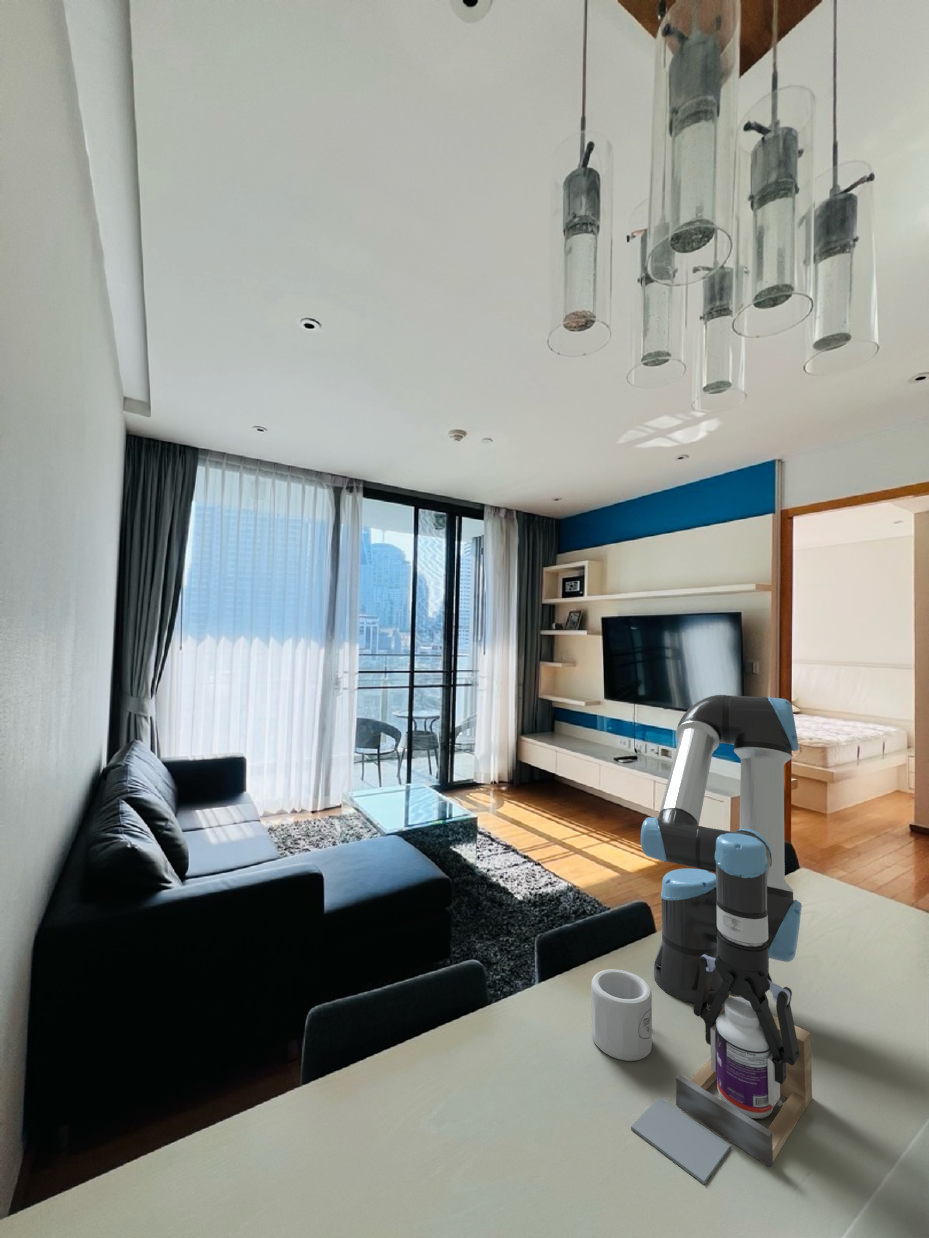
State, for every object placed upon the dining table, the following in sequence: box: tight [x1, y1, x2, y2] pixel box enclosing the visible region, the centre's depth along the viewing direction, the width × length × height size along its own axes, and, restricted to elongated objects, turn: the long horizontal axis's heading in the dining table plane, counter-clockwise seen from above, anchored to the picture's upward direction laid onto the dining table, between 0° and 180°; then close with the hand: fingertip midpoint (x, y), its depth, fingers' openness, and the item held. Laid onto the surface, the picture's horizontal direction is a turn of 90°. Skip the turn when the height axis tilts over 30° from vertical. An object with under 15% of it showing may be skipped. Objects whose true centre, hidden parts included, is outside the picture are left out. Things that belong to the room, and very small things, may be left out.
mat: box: [630, 1096, 732, 1185], centre depth 78 cm, size 11×8×1 cm
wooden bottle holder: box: [675, 994, 813, 1168], centre depth 86 cm, size 14×18×10 cm
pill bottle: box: [716, 996, 774, 1119], centre depth 86 cm, size 8×8×14 cm
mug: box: [590, 968, 653, 1062], centre depth 100 cm, size 14×11×10 cm
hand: (744, 1082), depth 85 cm, fingers closed on pill bottle, 8 cm apart
